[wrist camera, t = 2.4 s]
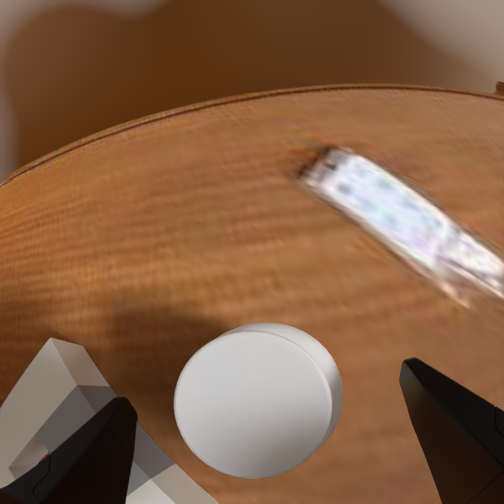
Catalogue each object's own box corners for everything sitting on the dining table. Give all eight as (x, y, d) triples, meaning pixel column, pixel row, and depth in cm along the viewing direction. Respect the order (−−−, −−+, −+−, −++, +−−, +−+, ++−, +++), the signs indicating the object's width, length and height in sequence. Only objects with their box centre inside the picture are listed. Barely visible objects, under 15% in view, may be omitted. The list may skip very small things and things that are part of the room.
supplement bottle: (234, 336, 17) (165, 291, 8) (328, 344, 16) (371, 305, 7) (223, 425, 15) (141, 475, 6) (318, 435, 14) (347, 506, 5)
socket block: (219, 502, 12) (202, 526, 9) (88, 569, 9) (66, 582, 6) (82, 345, 18) (50, 337, 14) (-1, 452, 14) (-26, 453, 11)
